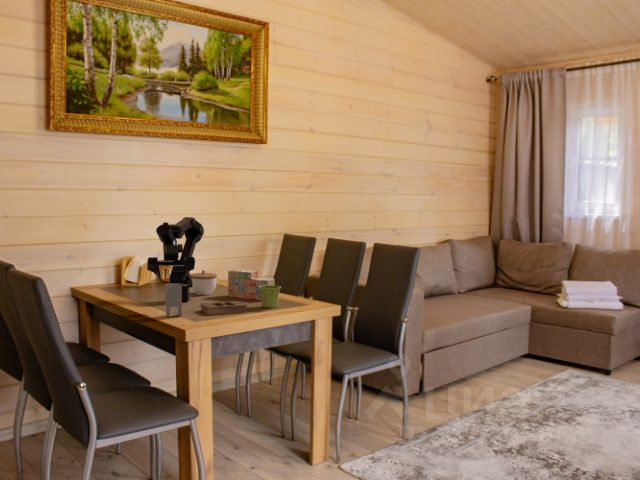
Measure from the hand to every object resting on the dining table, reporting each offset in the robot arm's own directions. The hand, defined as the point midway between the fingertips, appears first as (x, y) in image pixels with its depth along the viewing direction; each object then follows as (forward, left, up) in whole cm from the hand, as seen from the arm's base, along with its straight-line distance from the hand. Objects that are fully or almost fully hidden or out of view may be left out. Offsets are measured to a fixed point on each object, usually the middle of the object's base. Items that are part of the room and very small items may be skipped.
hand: (172, 280), depth 255 cm
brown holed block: (-20, -5, -13) cm, 24 cm away
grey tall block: (-3, +7, -13) cm, 15 cm away
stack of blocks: (-25, -39, -13) cm, 48 cm away
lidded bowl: (-2, -46, -13) cm, 48 cm away
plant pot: (-37, -18, -13) cm, 43 cm away
